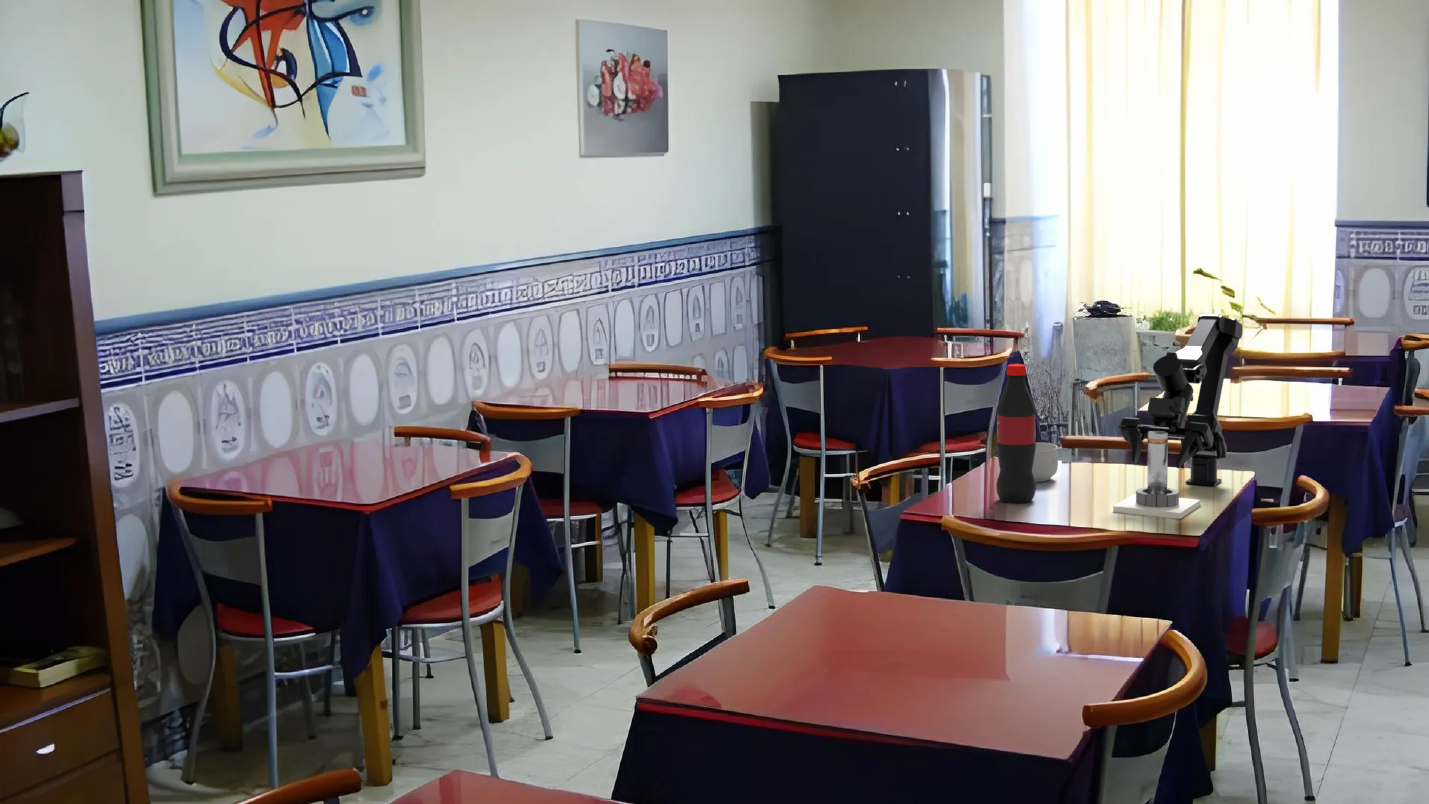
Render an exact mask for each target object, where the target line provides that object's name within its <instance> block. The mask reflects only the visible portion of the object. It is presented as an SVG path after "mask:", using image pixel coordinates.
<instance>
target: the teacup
mask: <svg viewBox="0 0 1429 804" xmlns="http://www.w3.org/2000/svg"><path fill="white" fill-rule="evenodd" d="M1058 450H1059V447H1058V445H1057V444H1055V443H1051V442H1050V443H1049V442H1036V449H1035V456H1034V462H1033V468H1032V472H1033V476H1034V479H1035V482H1036V483H1041V482H1047V481H1049V480H1051V479H1052V477H1053V476H1055V475H1056V474H1057V472H1058V468H1059V467H1058V466H1059V455H1058V454H1059V453H1058Z"/></svg>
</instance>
